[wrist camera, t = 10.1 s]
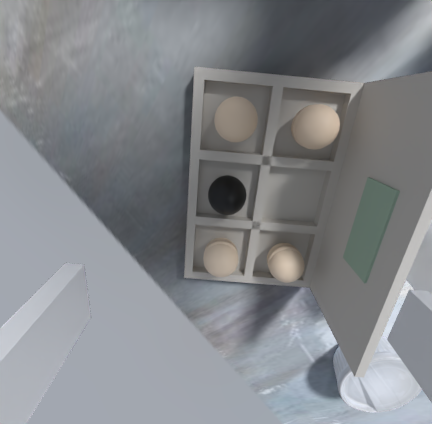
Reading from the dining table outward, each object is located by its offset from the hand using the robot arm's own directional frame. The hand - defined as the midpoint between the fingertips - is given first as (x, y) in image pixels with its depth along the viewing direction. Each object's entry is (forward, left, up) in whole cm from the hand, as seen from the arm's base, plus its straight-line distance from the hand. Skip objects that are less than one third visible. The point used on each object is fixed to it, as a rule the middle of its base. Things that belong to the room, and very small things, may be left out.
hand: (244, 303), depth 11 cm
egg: (+1, 0, -20) cm, 20 cm away
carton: (+1, +4, -21) cm, 21 cm away
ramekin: (+26, +24, -21) cm, 41 cm away
